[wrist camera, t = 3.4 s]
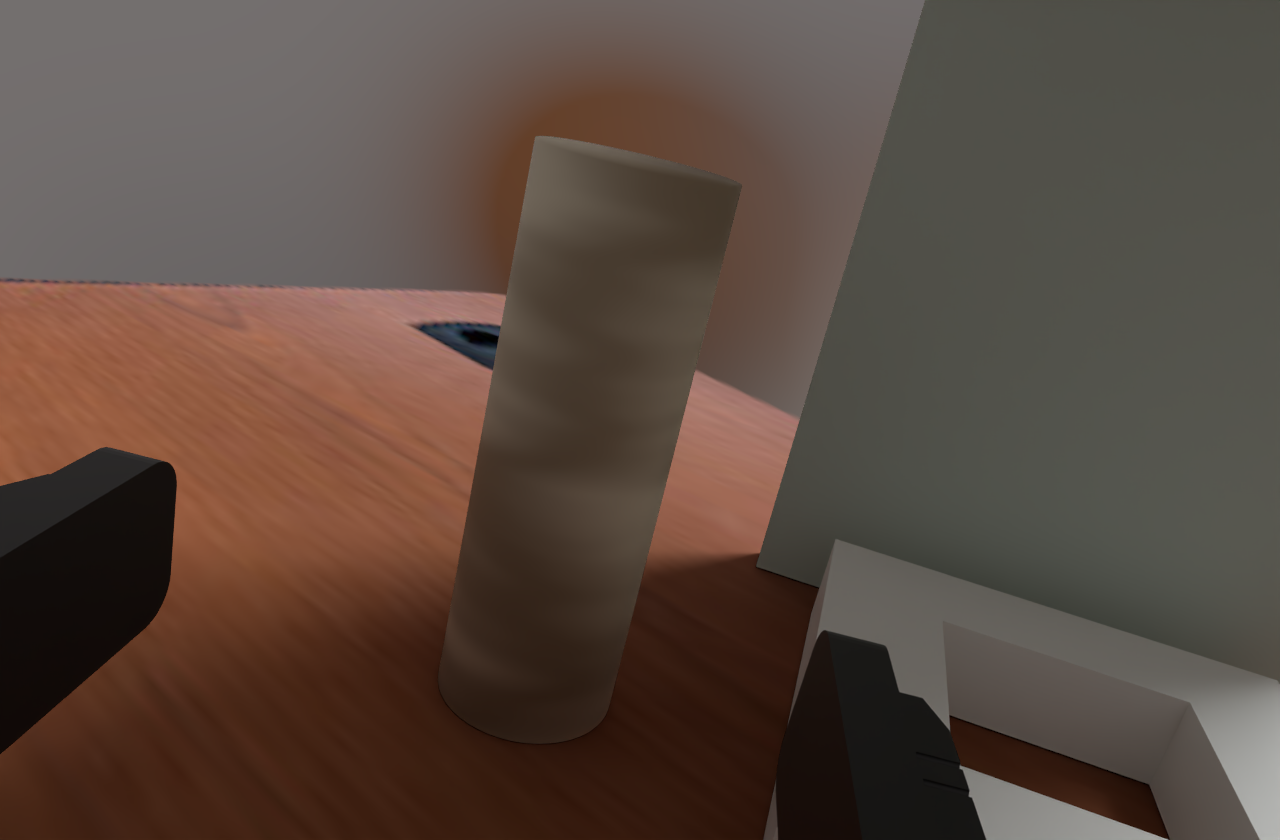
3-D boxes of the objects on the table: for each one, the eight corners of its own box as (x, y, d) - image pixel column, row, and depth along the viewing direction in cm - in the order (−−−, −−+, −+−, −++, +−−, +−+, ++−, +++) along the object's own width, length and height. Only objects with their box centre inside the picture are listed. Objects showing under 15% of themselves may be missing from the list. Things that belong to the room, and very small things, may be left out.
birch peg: (404, 702, 20) (500, 134, 16) (482, 616, 24) (576, 137, 20) (577, 768, 20) (720, 190, 16) (630, 670, 23) (756, 182, 19)
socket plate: (747, 914, 17) (784, 805, 16) (811, 612, 28) (835, 538, 27) (1484, 1211, 15) (1569, 1102, 14) (1237, 755, 26) (1276, 680, 25)
